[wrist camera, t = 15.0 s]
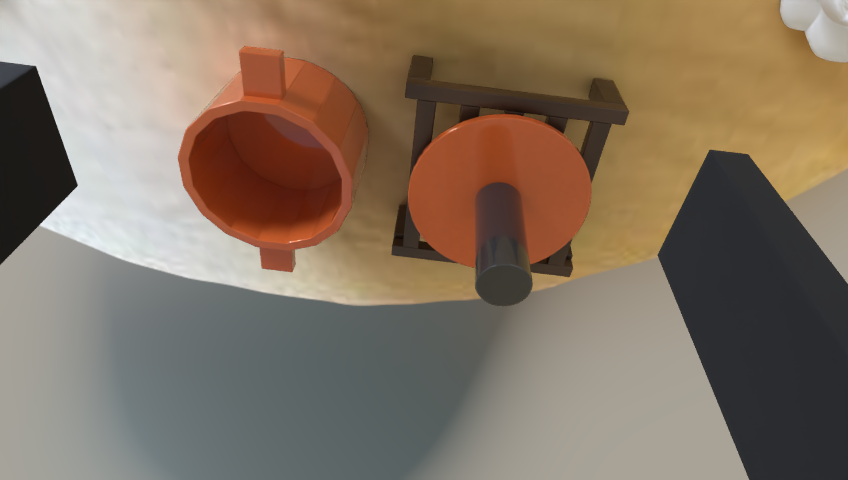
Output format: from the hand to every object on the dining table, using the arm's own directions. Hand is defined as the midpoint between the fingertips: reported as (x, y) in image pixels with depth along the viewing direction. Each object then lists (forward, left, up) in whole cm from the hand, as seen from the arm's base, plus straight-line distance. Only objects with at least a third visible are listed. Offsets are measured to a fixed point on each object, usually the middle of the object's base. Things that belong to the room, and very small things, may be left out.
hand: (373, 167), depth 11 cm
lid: (+6, -15, -23) cm, 28 cm away
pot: (-9, -15, -28) cm, 33 cm away
